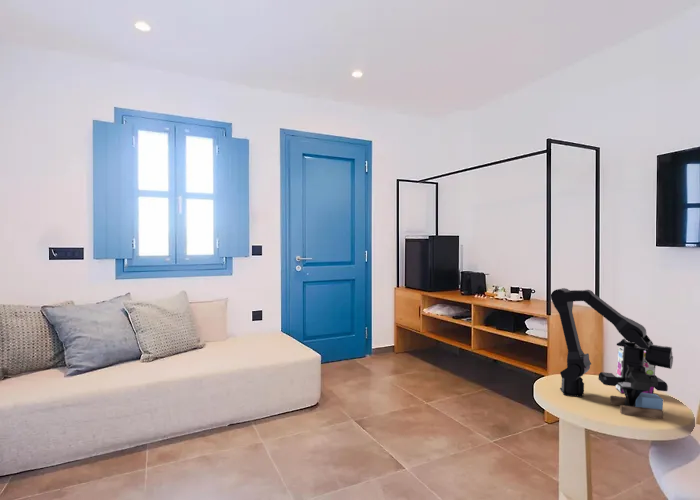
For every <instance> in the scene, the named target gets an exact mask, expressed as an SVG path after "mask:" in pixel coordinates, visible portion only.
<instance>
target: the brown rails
mask: <svg viewBox="0 0 700 500" xmlns="http://www.w3.org/2000/svg"><path fill="white" fill-rule="evenodd" d="M609 397H610V398H609V403H610V404H611V405H619V413H620V415H628V416H637V417H643V418H644V417H646V418H653V419H654V418H655V419H664V409H663V410H661V409H652V408H642V407H635V406H636V401H635V403H634V405H633V406H629V404H628V402H627V399H626V396H618V395H610V396H609Z"/></svg>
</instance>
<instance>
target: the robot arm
mask: <svg viewBox="0 0 700 500" xmlns="http://www.w3.org/2000/svg"><path fill="white" fill-rule="evenodd" d="M550 299H551V301H552V304H553V307H554V308H555V310H556V311H557V313H558V315H559V318H560V322H561V327H562V331H563V335H564V340H565V343H566V344H565V345H566V348H567V357H566V368H565V369H563V370H561V371H560V376H561V387H560V388H559V390H560V391H561V392H562V394H563V395H564V396H569V397H571V396H572V397H579V398H584V397H585V396H584V393H585V382H584V381H583V378H582V377H583V375H585V374H587V373H588V372H589V370H591V369H590V368H591V365H592V362H591V361H590V355H589V353H584V351H583V350H582V347H581V344H580V343H581V342H580V338H579V333H578V330H577V327H576V322H575V318H574V314H573V309H574V308H573V307H574V302H584V303H585V304H587V306H589V307H591V308H592V309H593V310H594V311H596V312H597V313H598V314H600V315H601V317H603V318H605V319H606V320H607V321H608V322H610V323H611V324H612V325H613V326H614V327H615V329H616V330H617V332H618V333H619V334H620V335H621V336H622V337H623V338H622V339H621V340H620V341H619V342H616V346H618V347H621V348H624V349H623V361H621V364H623V367H622V372H621V376H622V377H616V375H614V374H613V372H604V371H603V372H602V371H601V372H600V373H598V378H597V379H598V381H600V382H601V383H602V384H603V385H605V386H611V387H616V385H617V384H618V385H619V386H620V387H621V388H622V390H623V391H624V393H623V394H624V397H626V399H627V402H628V404H629V406H633V405H634V403H635V401H636V399H637V397H638V396H639V395H640V393H642V392H644V391H649V390H650V388H651V387H654V389H655V390H656V391H658V392H668V390H669V388H668V387H669V386H668V384H667V382H666V381H665V380H663V379H661V378H660V377H658V376H657V375H646V372H645V367H644V366H643V362H644V351H646V353H645V360H646V361H647V362H648V363H649V364H650V365H654V366H655V367H660V368H664V369H665V368H666V369H669V370H671V369H672V368H673V363H674V356H673V347H672V346H666V345H665V346H662V345H657V344H654V342H653V341H652V339H650V337H649V336H648V335H647V329H646V327H645V326H644V325H642V324H641V323H639V322H637V321H635V320H633V319H632V318H629V317H626V316H625V315H623V314H621V312H618V311H617V310H616V309H615V308H614V307H612V306H611V305H609V304H608V303H607V301H604V300H603V299H601V297H599V296H598V295H597V294H595V293H594V292H593V291H592V290H591V289H584V290H583V289H582V290H576V289H574V290H573V289H572V290H569V289H568V288H565V287H563V288H562V287H561V288H558V289H557V288H556V289H554V290H553V291H552V293H551V294H550Z"/></svg>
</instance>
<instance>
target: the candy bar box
mask: <svg viewBox="0 0 700 500" xmlns="http://www.w3.org/2000/svg"><path fill="white" fill-rule="evenodd" d="M623 349H624V347H618V349H617V363H616V375H615V376H616V377H622V376H621V372H622V367H623V364H621V361H623ZM645 353H646V351H644V362H643V366H644V367H645V372H646V375H655V374H656V373H655V372H656V366H654V365H650V364H649V363H648V362H647V361H646V360H645ZM615 389H616V390H617V391H618V392H619V393H621V394H622V393H623V394H624V391H623V390H622V388H621V387H620V386H619V385H618V384H617V385H616V386H615ZM654 389H655V388H654V387H651V388H650V390H649V391H644V392H642V393H650V394H655V393H654V392H655V391H654Z"/></svg>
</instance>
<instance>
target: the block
mask: <svg viewBox="0 0 700 500" xmlns="http://www.w3.org/2000/svg"><path fill="white" fill-rule="evenodd" d="M635 407H642V408H652V409H661V410H663V411H664V409H663V408H664V399H663V398H662V397H661V396H660V395H658V394H656V393H654V394H650V393H640V395H639V396H638V397H637V399H636V406H635Z"/></svg>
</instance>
